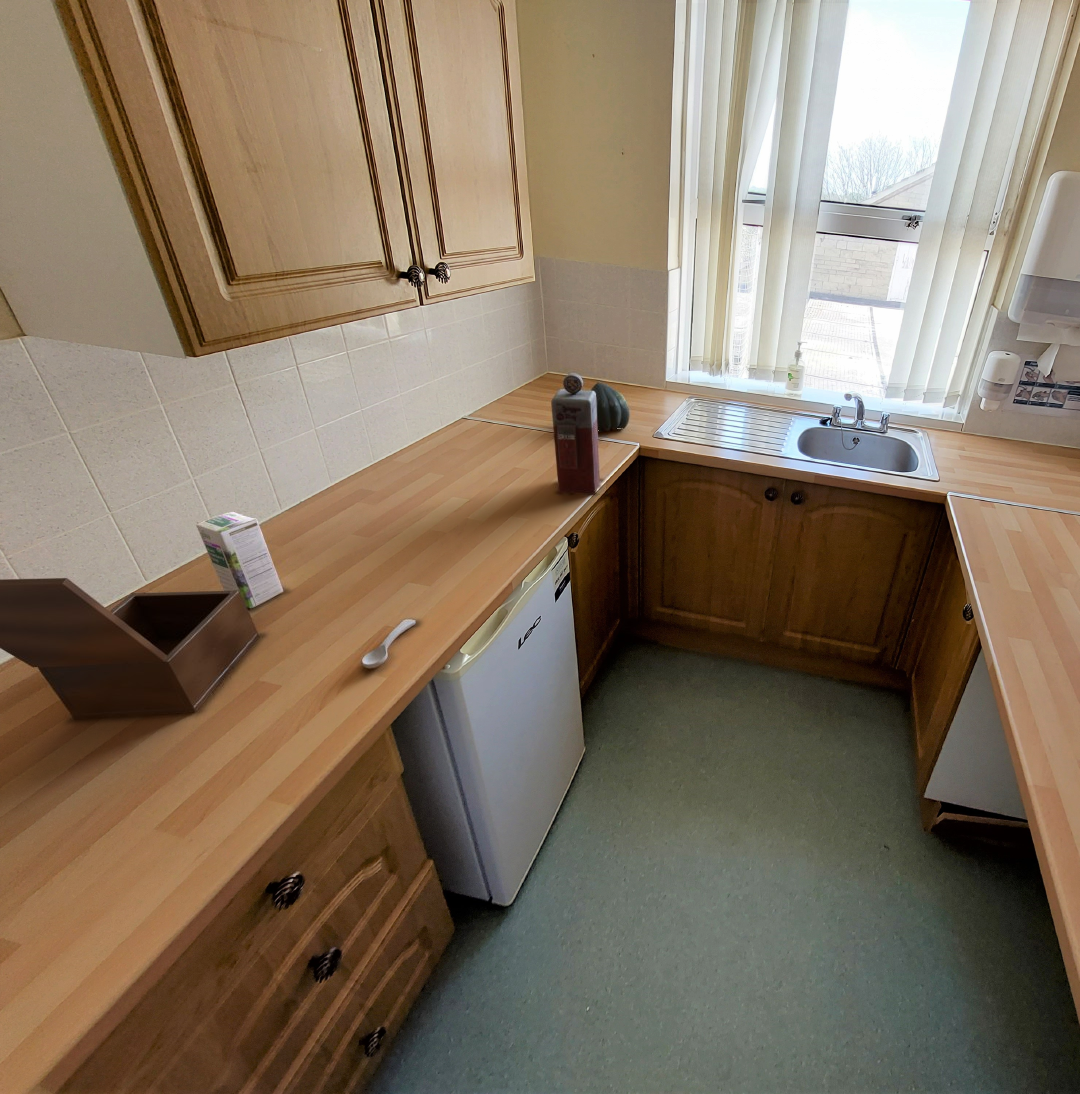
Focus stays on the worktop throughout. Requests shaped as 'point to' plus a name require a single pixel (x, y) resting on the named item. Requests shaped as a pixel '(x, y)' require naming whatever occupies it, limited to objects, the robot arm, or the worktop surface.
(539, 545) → the worktop surface
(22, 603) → the lid
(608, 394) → the squash
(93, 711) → the walnut box
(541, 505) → the worktop surface
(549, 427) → the worktop surface
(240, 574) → the syrup box
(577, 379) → the vintage gas pump
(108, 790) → the worktop surface
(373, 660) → the spoon
